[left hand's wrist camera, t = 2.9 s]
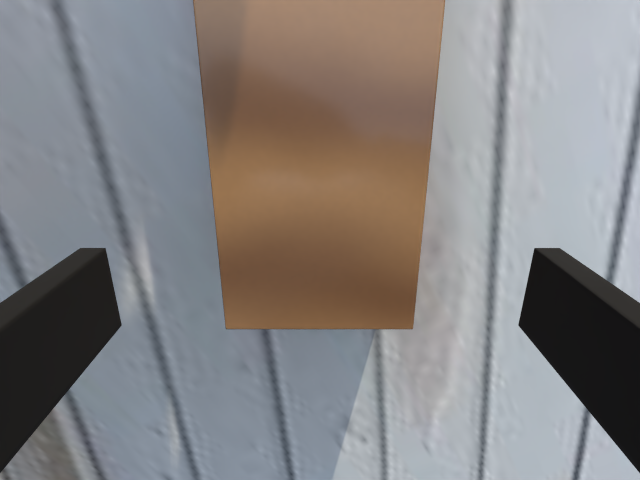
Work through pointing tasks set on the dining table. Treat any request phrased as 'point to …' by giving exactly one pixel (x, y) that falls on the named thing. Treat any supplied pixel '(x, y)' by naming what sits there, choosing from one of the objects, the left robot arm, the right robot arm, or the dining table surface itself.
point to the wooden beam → (319, 156)
